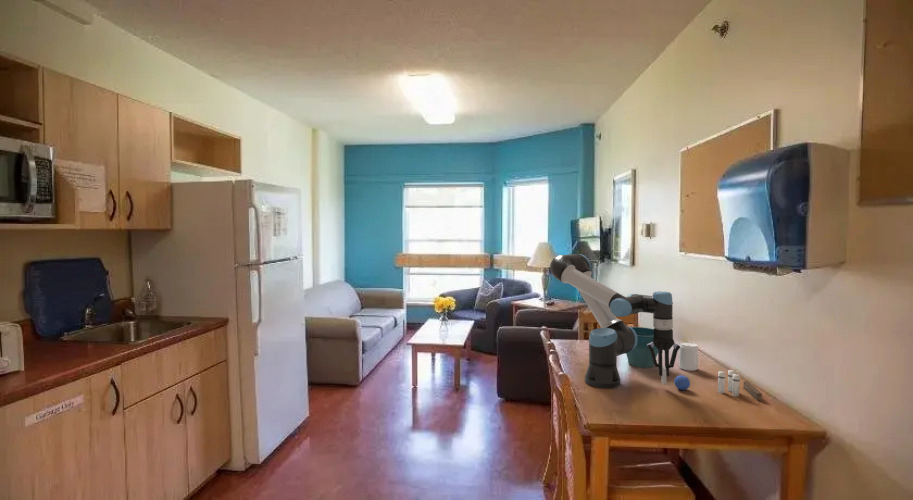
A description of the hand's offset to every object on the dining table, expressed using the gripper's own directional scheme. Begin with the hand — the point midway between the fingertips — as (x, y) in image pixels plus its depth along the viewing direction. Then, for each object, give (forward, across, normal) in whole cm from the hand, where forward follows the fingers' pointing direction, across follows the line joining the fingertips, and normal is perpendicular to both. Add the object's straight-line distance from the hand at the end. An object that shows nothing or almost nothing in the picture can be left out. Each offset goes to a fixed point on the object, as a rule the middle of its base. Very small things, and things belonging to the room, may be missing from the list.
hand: (663, 383), depth 190 cm
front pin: (+3, +22, +1) cm, 22 cm away
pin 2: (+3, +27, -1) cm, 27 cm away
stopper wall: (+3, +34, +2) cm, 34 cm away
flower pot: (+2, -5, +33) cm, 33 cm away
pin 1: (+3, +27, +4) cm, 27 cm away
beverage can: (+3, +16, +31) cm, 35 cm away
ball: (0, +7, +1) cm, 7 cm away
